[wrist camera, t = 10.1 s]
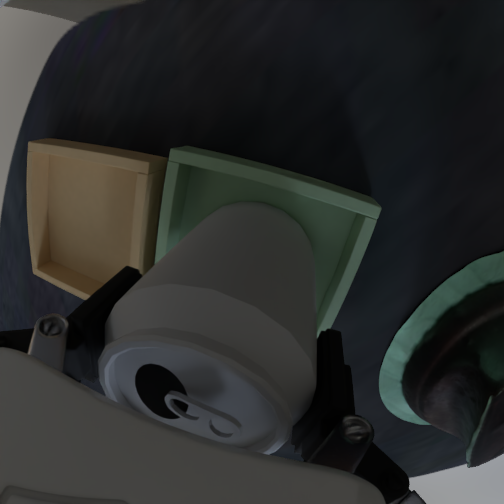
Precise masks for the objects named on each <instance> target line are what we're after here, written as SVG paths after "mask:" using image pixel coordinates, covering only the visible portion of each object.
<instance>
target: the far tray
mask: <svg viewBox="0 0 504 504" xmlns="http://www.w3.org/2000/svg"><path fill="white" fill-rule="evenodd" d="M167 160H168V158H166V157H161V156H156V155H151V154H146V153H141V152H135V151H130V150H124V149H119V148H113V147H107V146H101V145H95V144H89V143H82V142H75V141H68V140H60V139H53V138H47V139H41V140H35V141H29V142H28V157H27V215H28V231H29V242H30V252H31V260H32V266H33V267H32V268H33V273H34V274H35V275H37V276H39V277H41V278H43V279H45V280H47V281H48V282H50V283H52V284H54V285H56V286H58V287H60V288H62V289H64V290H66V291H68V292H70V293H72V294H74V295H76V296H78V297H80V298H82V299H84V300H87V299H88V298H89V297H90V296H91V295H92V294H93V293H94V292H96V291H97V290H98V289H99V288H101V287H102V286H103V285H104V284H105V283H106V282H108V281H109V280H110V279H111V278H112V277H113V276H115V275H116V274H117V273H118V272H119V271H121V270H122V269H123V268H124V267H125V266H130V267H133V268H136V269H138V270H139V271H140V274H142V276H144V275H145V274H146V273H147V272H148V271H149V270H150V269H151V268H152V267H153V266H154V257H155V247H156V237H157V228H158V220H159V212H160V205H161V198H162V191H163V184H164V178H165V171H166V166H167Z"/></svg>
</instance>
